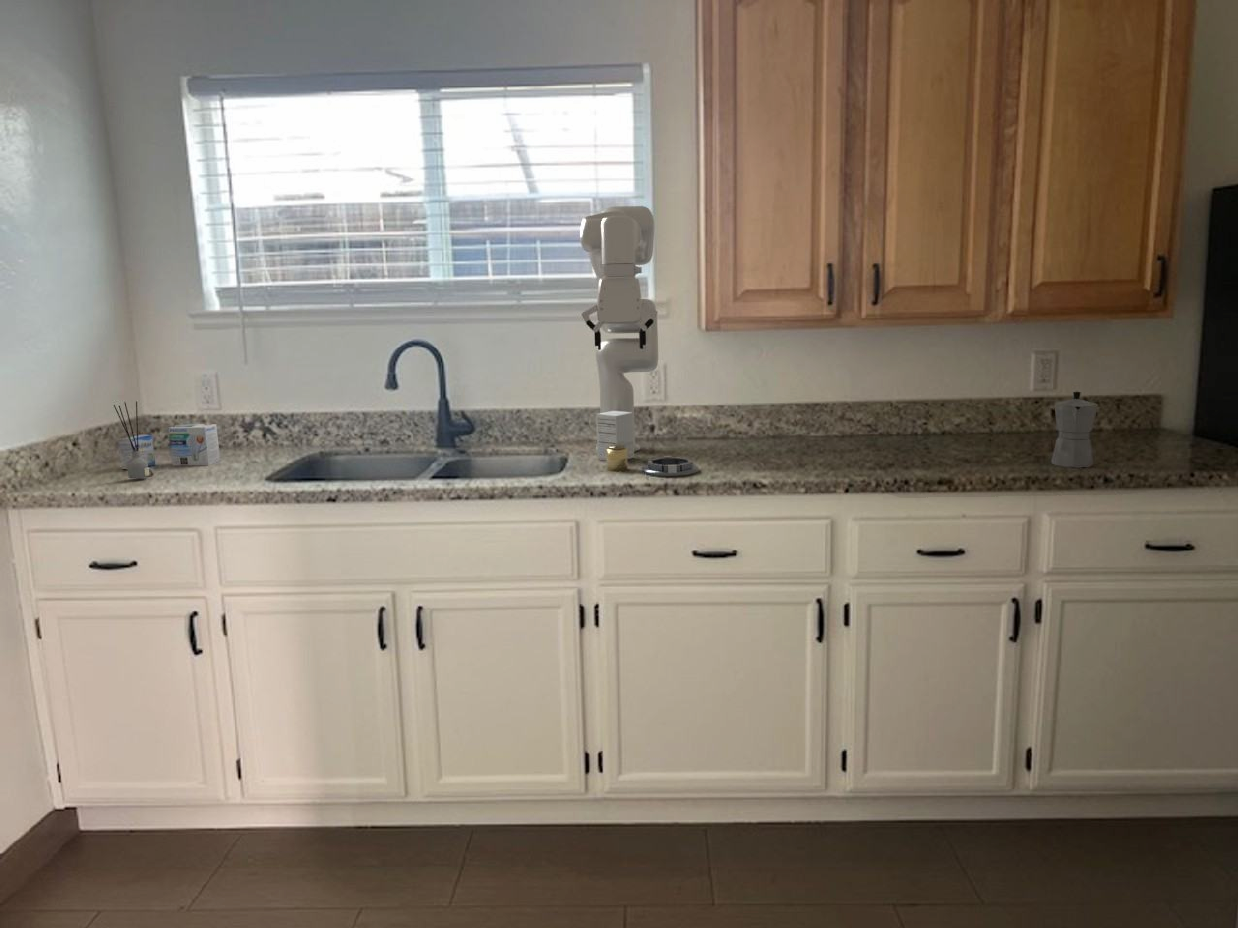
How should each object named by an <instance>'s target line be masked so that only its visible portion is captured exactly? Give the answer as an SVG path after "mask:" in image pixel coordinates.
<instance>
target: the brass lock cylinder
mask: <svg viewBox="0 0 1238 928" xmlns="http://www.w3.org/2000/svg"><path fill="white" fill-rule="evenodd" d="M606 470H607V471H608V472H625V471H628V459H627V448H626V447H625V445H618V444H615V445H610V446H608V448H607V461H606Z"/></svg>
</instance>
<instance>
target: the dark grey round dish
mask: <svg viewBox="0 0 1238 928" xmlns="http://www.w3.org/2000/svg"><path fill="white" fill-rule="evenodd" d="M641 473H642V474H643V473H644V474H643V475H645V474H646V475H645V476H648V475H650V476H649V477H654V476H658V477H657V478H681V477H689V476H693V475H697V474H698V473H699V466H698V465H696V464H693V460H692V459H690V458H684V457H673V456H672V455H663V457H657V458H653V459H652V458H651V459H648V460H647V465H644V466H642V467H641Z"/></svg>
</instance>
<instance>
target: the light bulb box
mask: <svg viewBox="0 0 1238 928" xmlns="http://www.w3.org/2000/svg"><path fill="white" fill-rule="evenodd" d="M168 436H169V443H170V444H169V446H170V455H171V464H172V466H174V467H175V466H177V467H178V466H211V465H213V464H216V463H219V462H221V457H220V446H219V438H218V437H219V436H218V428H217V423H208V424H204V423H203V424H202V423H200V424H199V423H196V424H191V423H190V424H178V425H174V426H172V427H168Z"/></svg>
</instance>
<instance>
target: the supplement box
mask: <svg viewBox="0 0 1238 928" xmlns="http://www.w3.org/2000/svg"><path fill="white" fill-rule="evenodd" d="M595 414H596V415H595V417H596V418H595V419H596V421H595V422H596V446H597V450H596V452H597V460H598V461H604V460H605V462H607V448H608V446H610V445H615V444H618V445H625V447H626V448H627V460H630V459H634V458H635V452H634V442H635V430H634V431H633V413H632V412H622V411H610V412H604V413H595Z"/></svg>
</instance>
